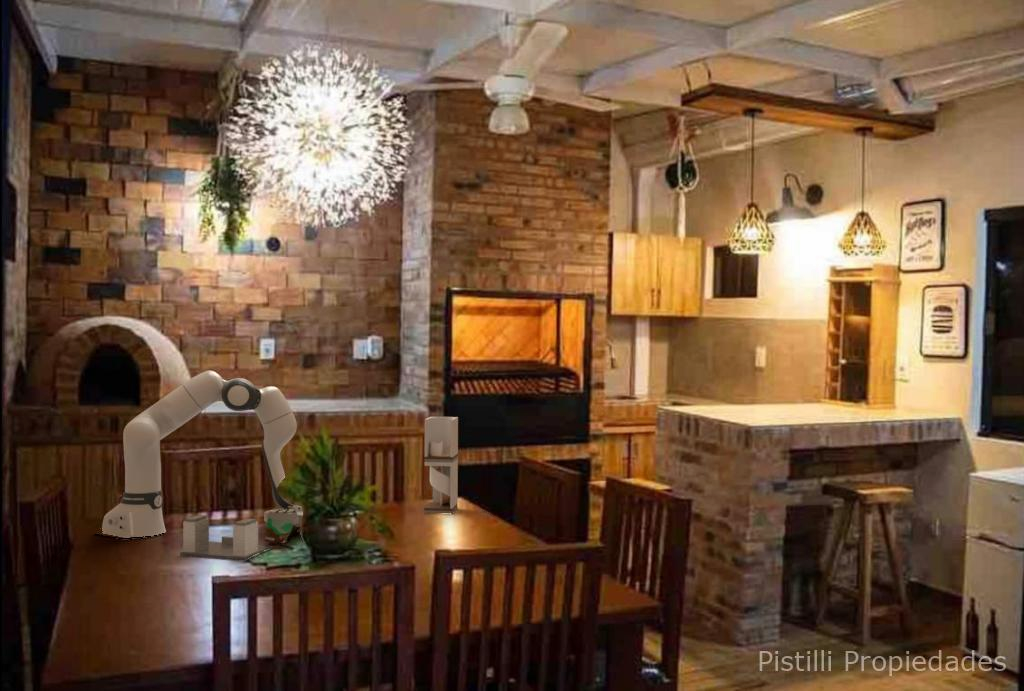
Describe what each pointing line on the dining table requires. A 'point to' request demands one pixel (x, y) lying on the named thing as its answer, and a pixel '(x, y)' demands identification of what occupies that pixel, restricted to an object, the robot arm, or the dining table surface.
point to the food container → (280, 524)
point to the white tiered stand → (442, 463)
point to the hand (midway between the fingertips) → (282, 521)
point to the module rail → (230, 547)
